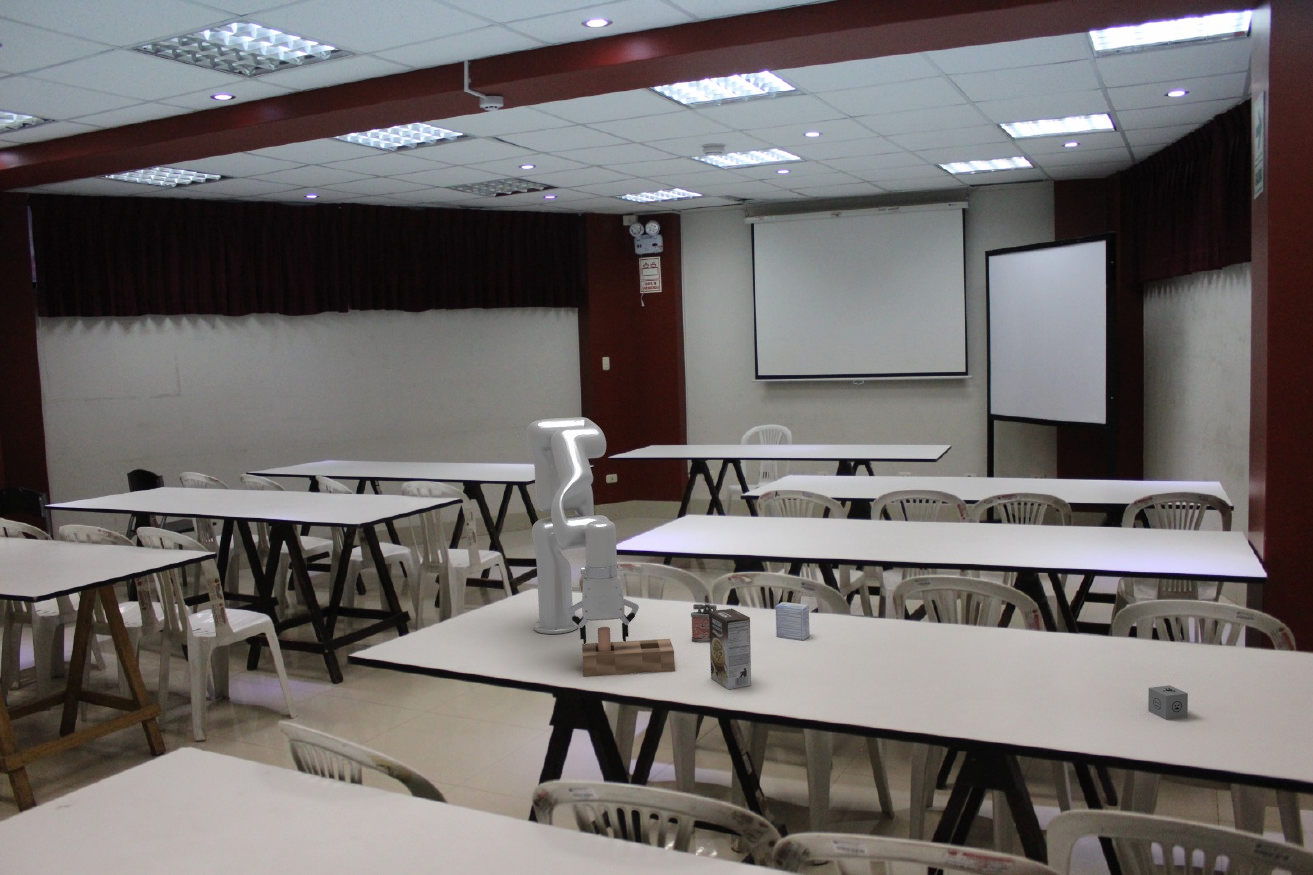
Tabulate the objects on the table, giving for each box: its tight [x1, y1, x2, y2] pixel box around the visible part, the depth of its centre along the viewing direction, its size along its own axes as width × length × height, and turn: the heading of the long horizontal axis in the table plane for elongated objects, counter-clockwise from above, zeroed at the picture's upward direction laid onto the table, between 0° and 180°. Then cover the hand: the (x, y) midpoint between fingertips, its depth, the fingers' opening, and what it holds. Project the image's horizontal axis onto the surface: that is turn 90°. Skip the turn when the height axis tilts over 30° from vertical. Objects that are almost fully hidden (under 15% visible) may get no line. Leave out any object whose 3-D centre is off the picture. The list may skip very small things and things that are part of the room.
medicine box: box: [775, 601, 811, 641], centre depth 259 cm, size 8×4×9 cm, turn 58°
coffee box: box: [709, 608, 752, 690], centre depth 225 cm, size 9×6×16 cm
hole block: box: [581, 638, 676, 677], centre depth 239 cm, size 10×22×5 cm, turn 95°
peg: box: [597, 626, 612, 652], centre depth 238 cm, size 3×3×10 cm
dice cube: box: [1147, 685, 1189, 721], centre depth 198 cm, size 5×5×5 cm
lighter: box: [690, 602, 718, 644], centre depth 258 cm, size 8×3×10 cm, turn 84°
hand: (604, 640), depth 238 cm, fingers open, 9 cm apart
